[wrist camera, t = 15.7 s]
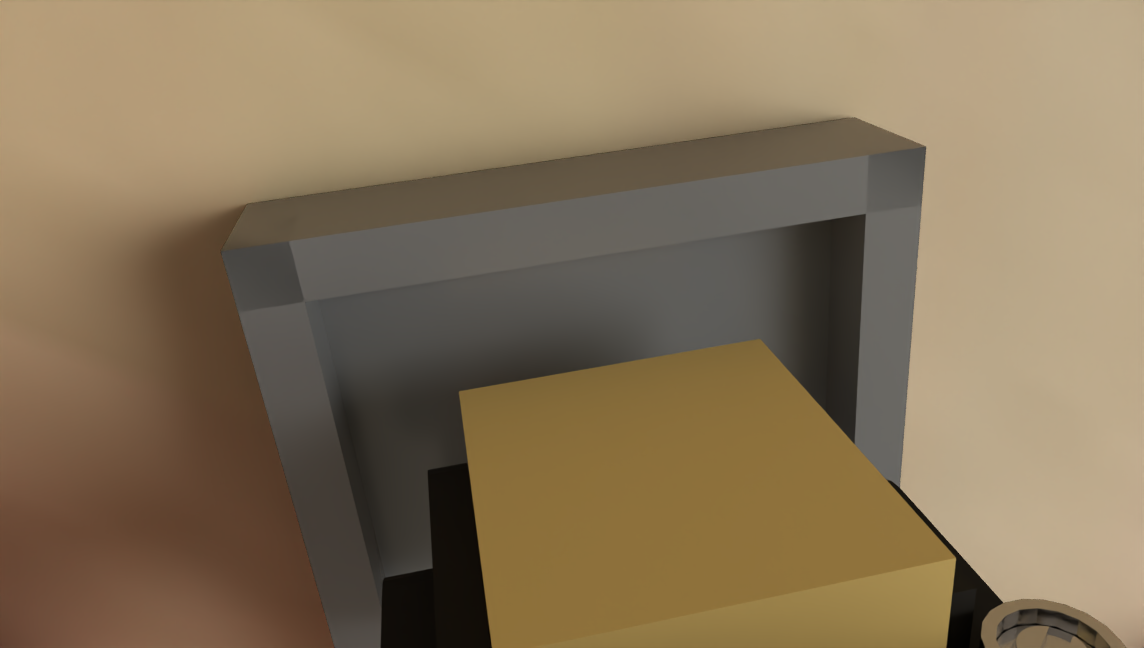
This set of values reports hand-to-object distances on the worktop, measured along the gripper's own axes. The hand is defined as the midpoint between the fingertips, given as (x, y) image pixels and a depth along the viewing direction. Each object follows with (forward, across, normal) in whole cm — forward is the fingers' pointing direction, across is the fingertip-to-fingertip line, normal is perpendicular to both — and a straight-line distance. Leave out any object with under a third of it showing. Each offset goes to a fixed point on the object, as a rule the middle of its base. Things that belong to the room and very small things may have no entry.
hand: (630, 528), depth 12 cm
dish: (+3, 0, 0) cm, 3 cm away
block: (0, 0, 0) cm, 0 cm away
